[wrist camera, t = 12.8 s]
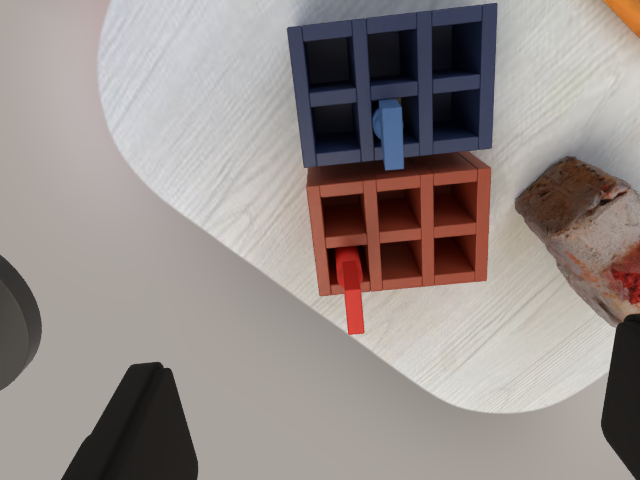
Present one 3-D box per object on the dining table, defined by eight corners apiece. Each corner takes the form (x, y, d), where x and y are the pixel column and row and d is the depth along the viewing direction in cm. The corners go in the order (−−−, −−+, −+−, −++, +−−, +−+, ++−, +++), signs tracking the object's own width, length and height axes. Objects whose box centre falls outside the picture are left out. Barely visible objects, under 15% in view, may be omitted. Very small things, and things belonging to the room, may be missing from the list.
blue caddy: (306, 144, 38) (304, 168, 31) (293, 30, 35) (286, 27, 28) (459, 128, 38) (492, 148, 31) (460, 11, 35) (497, 2, 27)
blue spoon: (371, 130, 37) (377, 171, 25) (369, 88, 36) (373, 109, 23) (394, 128, 37) (411, 168, 24) (392, 86, 36) (409, 105, 23)
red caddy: (319, 253, 42) (319, 296, 35) (308, 160, 39) (306, 186, 32) (458, 240, 42) (486, 281, 35) (459, 144, 38) (491, 167, 31)
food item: (659, 247, 42) (752, 303, 33) (584, 303, 44) (653, 370, 35) (571, 145, 38) (649, 176, 29) (495, 211, 41) (545, 259, 32)
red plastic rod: (335, 247, 41) (342, 335, 29) (332, 213, 40) (337, 291, 28) (355, 245, 41) (371, 333, 29) (352, 211, 40) (367, 288, 27)
